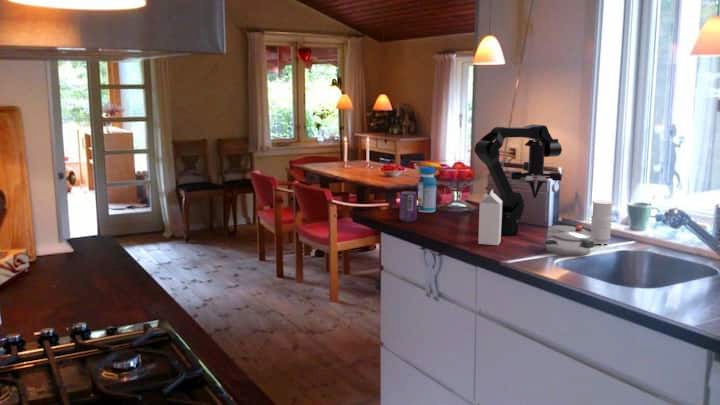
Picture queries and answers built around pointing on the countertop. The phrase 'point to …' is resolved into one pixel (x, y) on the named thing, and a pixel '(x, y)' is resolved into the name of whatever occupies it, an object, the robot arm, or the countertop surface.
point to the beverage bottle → (427, 190)
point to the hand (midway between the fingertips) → (534, 197)
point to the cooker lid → (569, 232)
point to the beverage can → (408, 206)
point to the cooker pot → (568, 246)
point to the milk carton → (490, 219)
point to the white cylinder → (601, 221)
